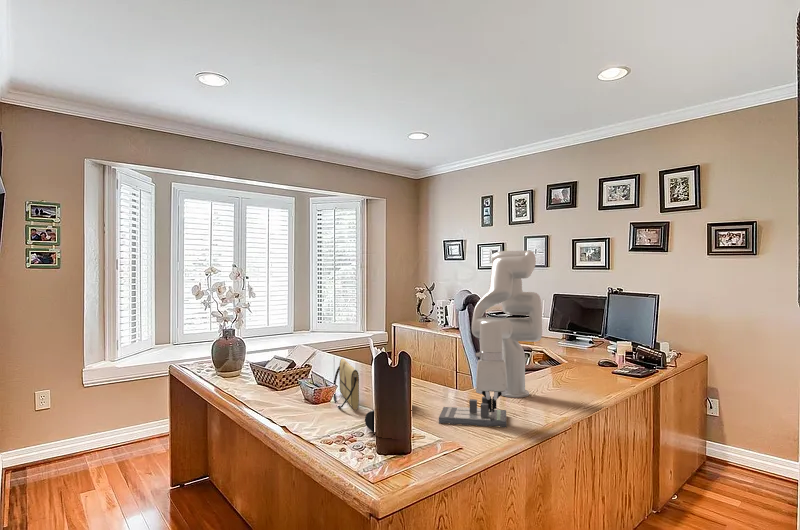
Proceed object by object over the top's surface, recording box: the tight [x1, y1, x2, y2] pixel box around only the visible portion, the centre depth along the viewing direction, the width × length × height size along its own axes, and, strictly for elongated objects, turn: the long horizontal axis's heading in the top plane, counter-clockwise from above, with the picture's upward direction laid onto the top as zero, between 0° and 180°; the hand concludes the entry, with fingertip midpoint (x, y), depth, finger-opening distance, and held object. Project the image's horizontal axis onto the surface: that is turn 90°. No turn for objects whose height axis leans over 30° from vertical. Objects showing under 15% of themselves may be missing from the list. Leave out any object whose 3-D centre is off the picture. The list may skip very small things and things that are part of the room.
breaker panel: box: [438, 406, 507, 428], centre depth 159 cm, size 13×22×2 cm, turn 77°
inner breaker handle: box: [481, 396, 489, 410], centre depth 163 cm, size 2×2×4 cm
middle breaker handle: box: [469, 398, 478, 413], centre depth 159 cm, size 2×2×4 cm
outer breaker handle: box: [480, 402, 488, 418], centre depth 154 cm, size 2×2×4 cm
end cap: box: [364, 409, 375, 434], centre depth 150 cm, size 10×7×7 cm
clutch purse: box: [333, 358, 360, 411], centre depth 183 cm, size 30×7×15 cm, turn 17°
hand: (492, 410), depth 158 cm, fingers closed
